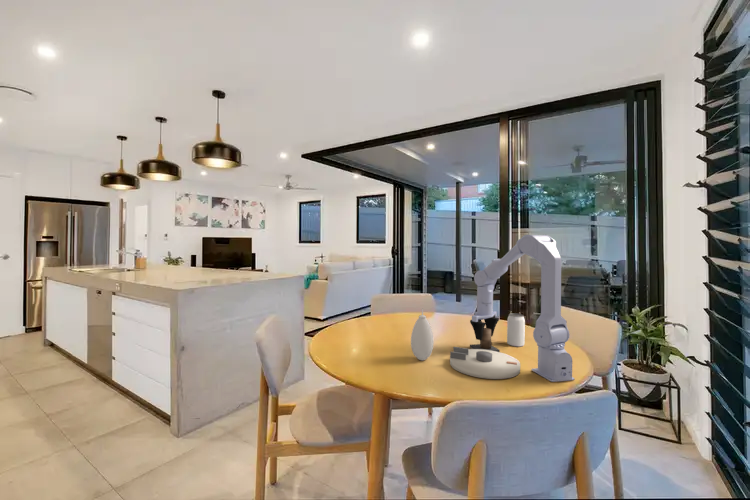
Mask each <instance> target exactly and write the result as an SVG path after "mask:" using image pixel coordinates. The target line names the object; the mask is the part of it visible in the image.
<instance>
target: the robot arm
mask: <svg viewBox="0 0 750 500" xmlns="http://www.w3.org/2000/svg"><path fill="white" fill-rule="evenodd" d="M524 255H525V256H529V257H531V258H533V259H535V261H537V262H538V263H539V264H540V266H541V267H540V268H541V271H540V273H541V274H540V279H541V280H540V282H541V283H540V315H539V316H538V318H537V319H536V320H535V327H534V329H533V332H532V336H533V340H534V342H535V343H536V346H537V367H536V368H535V367H534V368H531V371H532V372H534V373H535V374H537V375H539V376H540V377H542V378H543V379H546V380H547V381H550V382H551V383H554V382H566V381H567V382H568V381H574V380H575V377H573V357H572V355H571V354H570V353H569V352H567V350H566V349H565V347H566V343H567V342H568V341H569V339H570V334H571V333H570V331H569V330H570V329H569V328H568V325H567V320H566V319H565V318H564V317H563V316H562V257H561V255H560V253H559V250H558V249H557V241H556V240H555V239H554V238H552V237H551V236H550V235H547V234H541V235H540V234H524V235H523V236H521V238H519V239H518V240H516V243H515V245H513V247H511V249H510V250H508V251H507V252H506V253H505V255H503V257H501V258H496V259H495V258H494V259H492V260H491V262H490V263H489V264H488V265H487V266H484V267H483V270H476V272H475V273H474V276H473V281H474V284H475V285H476V287H477V288H476V290H477V291H476V295H477V296H476V311H475V312H474V315H472V316H471V319H470V320H469V323H470V325H471V327H472V329H473V332H474V336H475V340H478V341H480V340H482V337H483V330H484V328H489V329H491V338H492V337H493V335H494V333H495V329H496V326H497V323H498V322H499V320H500V319H499V317H497V316H498V311H496V310H495V311H494V310H493V309H494V290H495V285H496V283H497V280H498V279H499V278H501V277H502V276H503V275H504V274H505V273H506V272H508V270H509V266H510V265H512V264H514V262H516V261H518V260H519V259H520V258H521V257H523V256H524ZM482 320H484V321H482Z"/></svg>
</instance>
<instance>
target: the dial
mask: <svg viewBox="0 0 750 500" xmlns="http://www.w3.org/2000/svg"><path fill="white" fill-rule="evenodd" d="M449 365H450V367H451V368H452V369H453V370H455V371H458V372H459V373H461V374H464V375H467V376H471V377H475V378H479V379H486V380H487V379H488V380H503V379H511V378H514V377H516V376H518V375H519V374H520V373H521V362H520V361H519V359H517V358H516V357H513V356H511V355H510V354H507V353H505V352H501V351H500V352H496V351H491V350H483V349H472V348H465V347H460V346H459V347H457V346H453V351H450V355H449Z"/></svg>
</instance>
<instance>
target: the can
mask: <svg viewBox="0 0 750 500" xmlns="http://www.w3.org/2000/svg"><path fill="white" fill-rule="evenodd" d="M506 324H507V325H506V327H507V329H506V333H507V334H506V338H507V339H506V343H507V345H509V346H510V347H516V348H518V347H519V348H521V347H523V346H525V341H526V340H525V339H526V338H525V337H526V336H525V334H526V332H525V330H526V327H525V326H526V321H525V315H524V314H522V313H512V312H511V313H509V314H508V316H507V323H506Z"/></svg>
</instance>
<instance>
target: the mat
mask: <svg viewBox="0 0 750 500" xmlns="http://www.w3.org/2000/svg"><path fill="white" fill-rule="evenodd" d="M469 349H482V348H480V343H477V344H469ZM483 350H491V351H496V352H501V351H500V349H499V348H497V347H495V346H493V345H492V344H491V349H483Z"/></svg>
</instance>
